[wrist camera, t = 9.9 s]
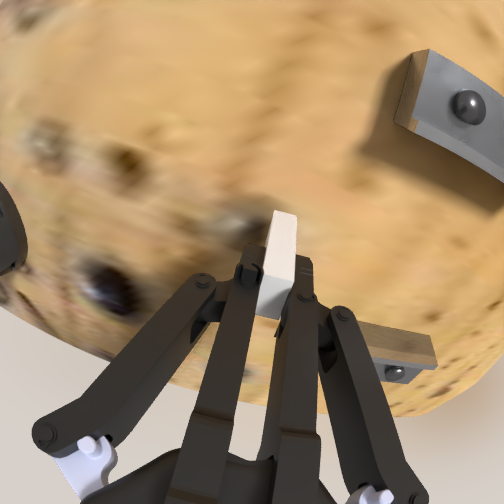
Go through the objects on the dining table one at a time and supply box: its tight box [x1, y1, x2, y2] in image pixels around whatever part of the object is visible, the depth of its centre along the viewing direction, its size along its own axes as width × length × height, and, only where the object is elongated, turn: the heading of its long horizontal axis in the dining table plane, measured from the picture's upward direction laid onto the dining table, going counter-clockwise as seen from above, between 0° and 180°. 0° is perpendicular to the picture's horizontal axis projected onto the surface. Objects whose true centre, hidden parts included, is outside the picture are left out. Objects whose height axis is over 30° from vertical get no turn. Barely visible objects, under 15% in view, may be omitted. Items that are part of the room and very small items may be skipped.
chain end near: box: [393, 49, 504, 183], centre depth 13 cm, size 14×6×4 cm, turn 79°
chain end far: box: [357, 321, 438, 384], centre depth 26 cm, size 14×6×4 cm, turn 79°
